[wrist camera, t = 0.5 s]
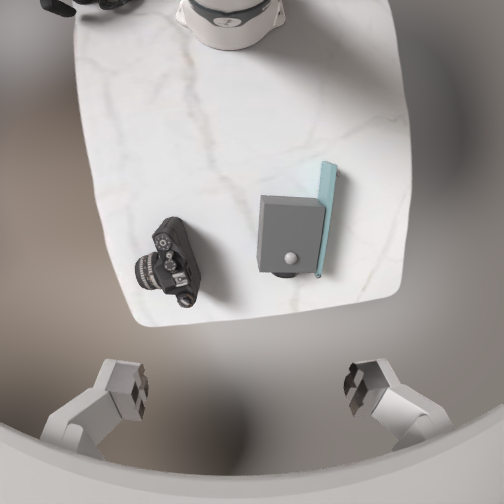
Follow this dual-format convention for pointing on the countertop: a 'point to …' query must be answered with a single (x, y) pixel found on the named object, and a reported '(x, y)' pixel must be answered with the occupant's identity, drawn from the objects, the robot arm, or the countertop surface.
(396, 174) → the countertop surface
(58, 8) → the milk frother
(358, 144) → the countertop surface
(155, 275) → the camera
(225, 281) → the countertop surface
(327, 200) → the side door
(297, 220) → the camera housing
